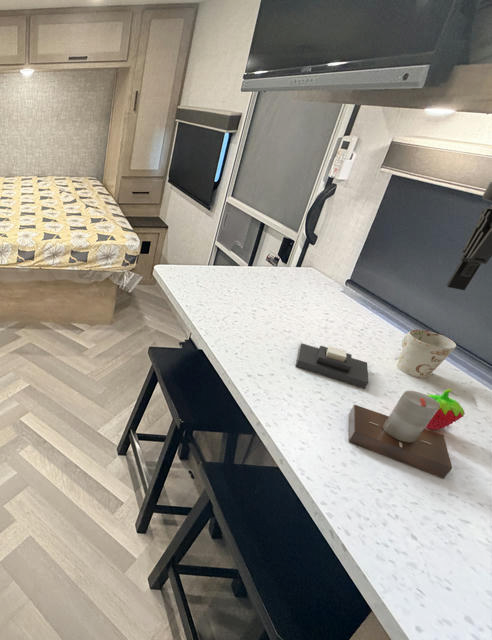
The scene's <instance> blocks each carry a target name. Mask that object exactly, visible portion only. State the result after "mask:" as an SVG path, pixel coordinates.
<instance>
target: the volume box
mask: <svg viewBox="0 0 492 640" xmlns="http://www.w3.org/2000/svg"><path fill="white" fill-rule="evenodd" d="M388 417H389V415H386V414H383V413H380V412H377V411H375V410H372V409H369V408H366V407H364V406H360V405H357V404H353V405H352V408H351V409H350V411H349V413H348V443H351V444H353V445H355V446H358V447H361V448H364V449H366V450H369V451H372V452H374V453H377V454H379V455H382V456H384V457H387V458H389V459H391V460H394V461H397V462H400V463H403V464H405V465H407V466H410V467H413V468H414V469H418V470H420V471H423V472H426V473H429V474H430V475H434V476H436V477H439V478H441V479H445V478H446V477H447V475H448V474H449V473H450V472H451V471H452V469H453V466H452V462H451V461H452V460H451V458H450V454H449V453H450V452H449V451H448V447H447V443H446V439H445V436H444V434H442V433H438V432H436V431H433V430H431V429H428V428H425V429H424V430H423V432H422V433H421V434H420V436H419V437H418V439H417V440H416V441H415V442H413V443H408V442H403V441H400V440H398V439H395V438H394V437H392V436H390V435H389V434H388V433H386V432H385V431H384V429H383V425H384V423H385V422H386V420H387V419H388Z"/></svg>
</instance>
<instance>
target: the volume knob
mask: <svg viewBox="0 0 492 640" xmlns="http://www.w3.org/2000/svg"><path fill="white" fill-rule="evenodd" d="M428 395H429V394H426V393H423V392H420V391H415V390H405V391H404V392H403V393H402V394H401V397H400V398H399V400H398V401H397V403H396V404H395V406H394V407H393V409H392V411H391V412H390V413H389V415H388V416H389V417H388V419H387V420H386V422H385V423H384V425H383V429H384V431H385V432H386V433H388V434H389V435H390V436H392V437H394V438H395V439H398V440H400V441H403V442H408V443H413V442H415V441H416V440H417V439H418V437H419V436H420V434H421V433H422V432H423V430H424V429H426V428H427V427H426V426H427V424H428V423H429V422H430V420H431V419H432V417H433V416H434V415H435V413H436V412H437V410H438V409H439V407H440V404H439V403H438V402H437V401H436V400H435V399H433V398H432V397H430V396H428Z"/></svg>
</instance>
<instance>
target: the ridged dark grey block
mask: <svg viewBox="0 0 492 640" xmlns="http://www.w3.org/2000/svg"><path fill="white" fill-rule="evenodd" d="M327 349H328V347H327V346H323V345H319V347H316V346H313V345H309V344H306V343H303V342H302V343H300V345H299V348H298V350H297V355H296V361H295V366H294V367H295V368H298V369H301V370H303V371H307V372H310V373H312V374H316V375H318V376H319V375H320V376H322V377H325V378H327V379H332V380H335V381H338V382H341V383H344V384H346V385H349V386H350V385H351V386H353V387H357V388H359V389H363V390H365V389H366V388H367V386H368V384H369V373H368V372H369V368H368V362H367V361H363V360H359V359H357V358H353V357H352V353H351V354H350V353H348V352H346V359H345V361H344V362H342V361H338V360H335V359H332V358H328V357H326V351H327Z"/></svg>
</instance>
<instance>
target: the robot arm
mask: <svg viewBox="0 0 492 640" xmlns="http://www.w3.org/2000/svg"><path fill="white" fill-rule="evenodd" d="M481 197H482V200H484V201H486V202H490V203H492V181H491V182H489V184H488V186H487V187H486V189H485V190H484V192H483V195H482V196H481ZM491 258H492V204H491V205H490V206H489V207H487V208H485V209H483V210H481V211H480V215H479V218H478V221H477V222H476V224H475V226H474V228H473V230H472V232H471V234H470V236H469V238H468V241H467V242H466V244H465V246H464V248H463V249H462V257H460V259H459V263H458V265H457V267H456V268H455V270H454V271H453V273H452V275H451V276H450V278H449V280H448V281H447V283H446V287H447V288H451V289H456V290H461V291H465V290H466V289H467V287H468V286H469V285H470V282H471V281H472V279H473V278H474V276H475V274H476V273H477V271H478V269H479V268H480V267H481V266H482V265H486V264H487V263H488V262H489V261H490V260H491Z"/></svg>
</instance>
